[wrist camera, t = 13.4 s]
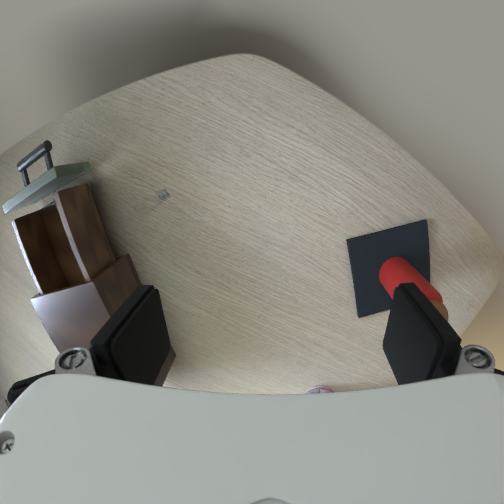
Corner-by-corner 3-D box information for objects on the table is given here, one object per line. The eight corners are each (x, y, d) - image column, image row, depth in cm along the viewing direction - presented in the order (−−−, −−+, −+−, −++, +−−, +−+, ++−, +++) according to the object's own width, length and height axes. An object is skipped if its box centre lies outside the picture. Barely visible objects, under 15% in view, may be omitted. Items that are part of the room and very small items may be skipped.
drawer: (26, 167, 29) (-6, 174, 23) (80, 129, 27) (45, 129, 21) (69, 290, 34) (44, 311, 28) (128, 274, 32) (103, 298, 26)
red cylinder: (376, 261, 30) (419, 315, 19) (407, 252, 29) (459, 300, 18) (380, 291, 31) (417, 352, 20) (409, 283, 30) (455, 338, 19)
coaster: (346, 239, 30) (347, 241, 29) (424, 219, 28) (427, 220, 28) (357, 315, 33) (358, 318, 32) (428, 294, 31) (430, 296, 31)
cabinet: (64, 273, 34) (29, 299, 27) (128, 253, 32) (93, 281, 25) (110, 360, 39) (87, 394, 32) (176, 355, 37) (158, 396, 30)
